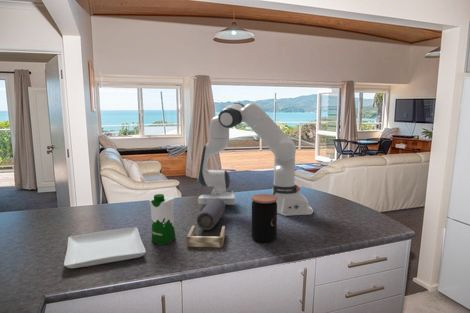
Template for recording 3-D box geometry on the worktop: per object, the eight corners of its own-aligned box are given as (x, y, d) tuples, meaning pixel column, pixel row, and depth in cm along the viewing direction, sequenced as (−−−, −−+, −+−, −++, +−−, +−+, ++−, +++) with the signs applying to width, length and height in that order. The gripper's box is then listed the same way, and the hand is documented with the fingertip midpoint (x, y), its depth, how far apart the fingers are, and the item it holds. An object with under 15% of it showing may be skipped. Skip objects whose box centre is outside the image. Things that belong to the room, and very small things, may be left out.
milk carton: (148, 242, 134) (146, 195, 131) (162, 234, 142) (160, 190, 139) (165, 246, 131) (164, 198, 127) (178, 238, 139) (177, 192, 136)
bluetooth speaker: (216, 233, 143) (215, 211, 142) (195, 232, 145) (195, 210, 144) (226, 216, 166) (226, 197, 164) (208, 215, 167) (208, 196, 166)
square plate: (64, 275, 109) (63, 265, 108) (69, 244, 134) (68, 235, 133) (146, 260, 120) (146, 250, 119) (137, 233, 144) (136, 225, 144)
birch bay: (225, 234, 142) (225, 226, 142) (222, 247, 130) (222, 237, 129) (192, 234, 143) (192, 225, 142) (186, 246, 130) (186, 237, 130)
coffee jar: (275, 244, 132) (276, 201, 129) (249, 242, 134) (249, 200, 131) (277, 234, 142) (278, 194, 140) (253, 232, 145) (253, 193, 142)
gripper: (199, 191, 183) (195, 197, 170) (236, 191, 182) (234, 198, 169) (200, 201, 184) (196, 209, 171) (236, 202, 183) (234, 210, 170)
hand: (215, 203), depth 170 cm, fingers closed
